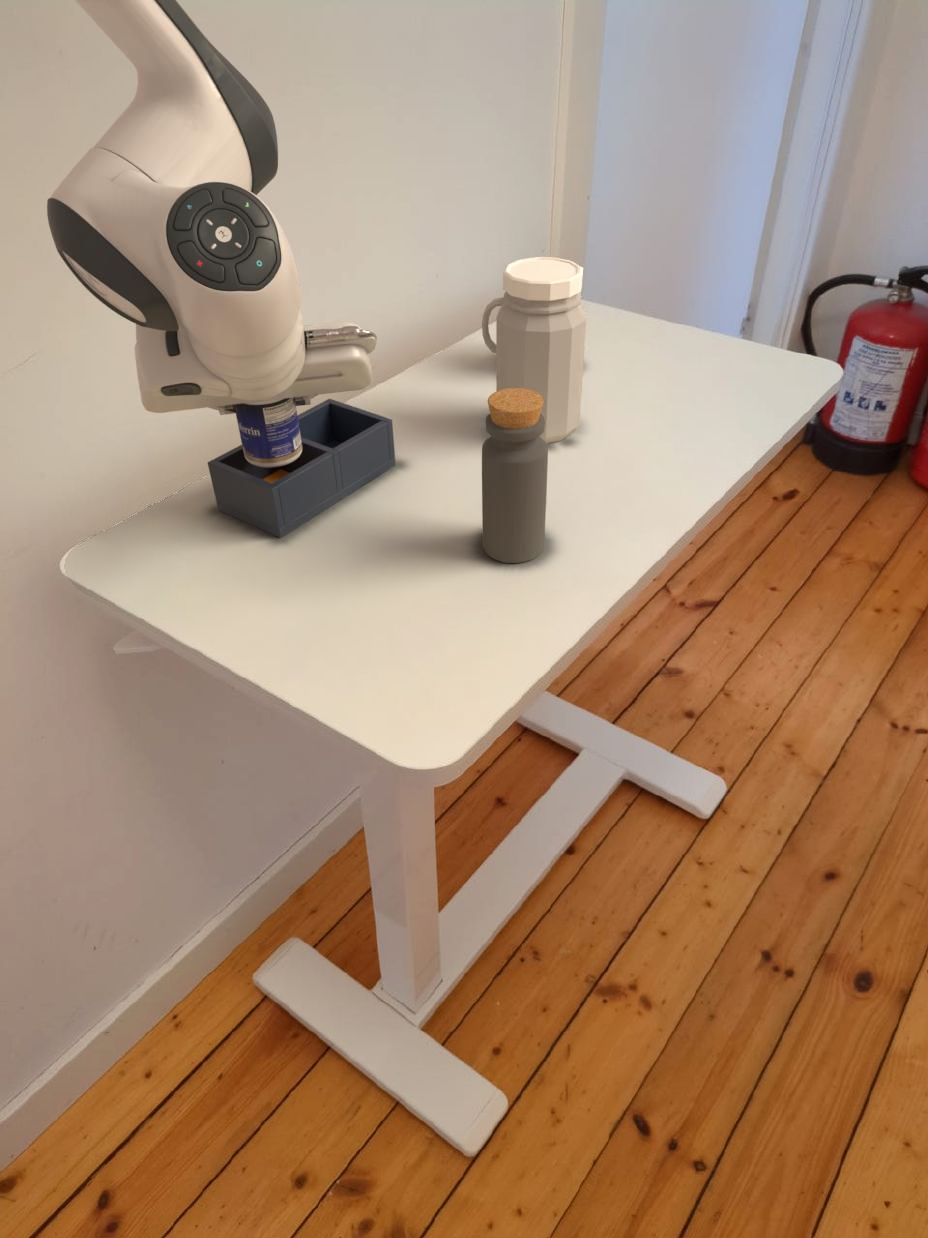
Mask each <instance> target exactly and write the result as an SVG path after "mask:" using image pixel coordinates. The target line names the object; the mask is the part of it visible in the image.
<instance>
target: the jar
mask: <svg viewBox="0 0 928 1238" xmlns="http://www.w3.org/2000/svg"><path fill="white" fill-rule="evenodd" d="M583 275H584V267H582V266H581V265H579V264H578V263H576V262H574V261H572V260H569V259H565V258H560V257H553V256H552V257H551V256H534V257H528V258H520V259H517V260H515V261H513V262H511V263H509V264H507V265H504V268H503V272H502V290H503V291H504V293H503V296H502V298H503V302H504V304H503V305H502V306H500V308H499V309H498V312H497V314H496V320H495V322H496V325H495V327H496V329H495V331H496V336H495V337H496V338H495V339H496V340H495V341H496V342H495V344H496V354H495V356H496V361H495V362H496V363H495V364H496V365H495V367H496V368H495V369H496V371H495V372H496V374H495V375H496V387H495V388H496V391H495V392H497V391H499V390H503V389H509V388H523V389H528V390H532V391H535V392H537V393H538V394H540V395H541V396H542V398H543V405H542V409H541V414H542V415H543V416H544V419H545V429H544V432H543V433H542V434H541V435H540V437H541V438H542V439H543V440H544V441H545V442H546V443H547V444H549V443H554V442H559V441H562V440H564V439H566V438H567V437H568V436H570V435H571V434H573V432H575V430H576V429H577V428H578V427H579V426H580V422H581V421H580V420H581V409H582V394H583V393H582V392H583V376H584V361H585V360H584V359H585V347H586V345H585V344H586V330H587V329H586V328H587V317H588V316H587V315H588V313H587V310H586V309H585V308H584V306H583V304H582V297H583V296H582V295H583V294H582V293H581V292H582V287H583ZM579 292H580V293H579Z"/></svg>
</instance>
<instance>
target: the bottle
mask: <svg viewBox="0 0 928 1238" xmlns="http://www.w3.org/2000/svg"><path fill="white" fill-rule="evenodd" d="M487 405H488V409H489V410H488V411H489V413H488V414H487V416H486V417H485V432H486V433H487V434H488V435H489V436H488V438H486V439H485V440H484V441H483V443H482V446H481V518H482V519H481V520H482V528H481V529H482V548H483V550H484V553H485V554H486V555H487V556H488V557H490V558H492V559H493V560H495V561H498V562H500V563H505V564H506V563H507V564H520V563H526V562H530V561H532V560H534V559H537V558H538V557H539V556H540V555H541V554H542V552H543V551H544V547H545V538H546V536H545V535H546V518H547V517H546V515H547V514H546V513H547V493H548V492H547V490H548V466H549V465H548V463H549V447H548V443H546V442H545V441H544V440H543V439H542V438H541V437H540V435H541V434H542V433H543V432H544V429H545V419H544V416H543V415H542V414H541V409H542V405H543V398H542V396H541V395H540V394H538V393H537V392H535V391H532V390H528V389H523V388H509V389H503V390H499V391H497V392H496V391H495V392H493V393H492V394H490V395H489V396H488V398H487Z"/></svg>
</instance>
